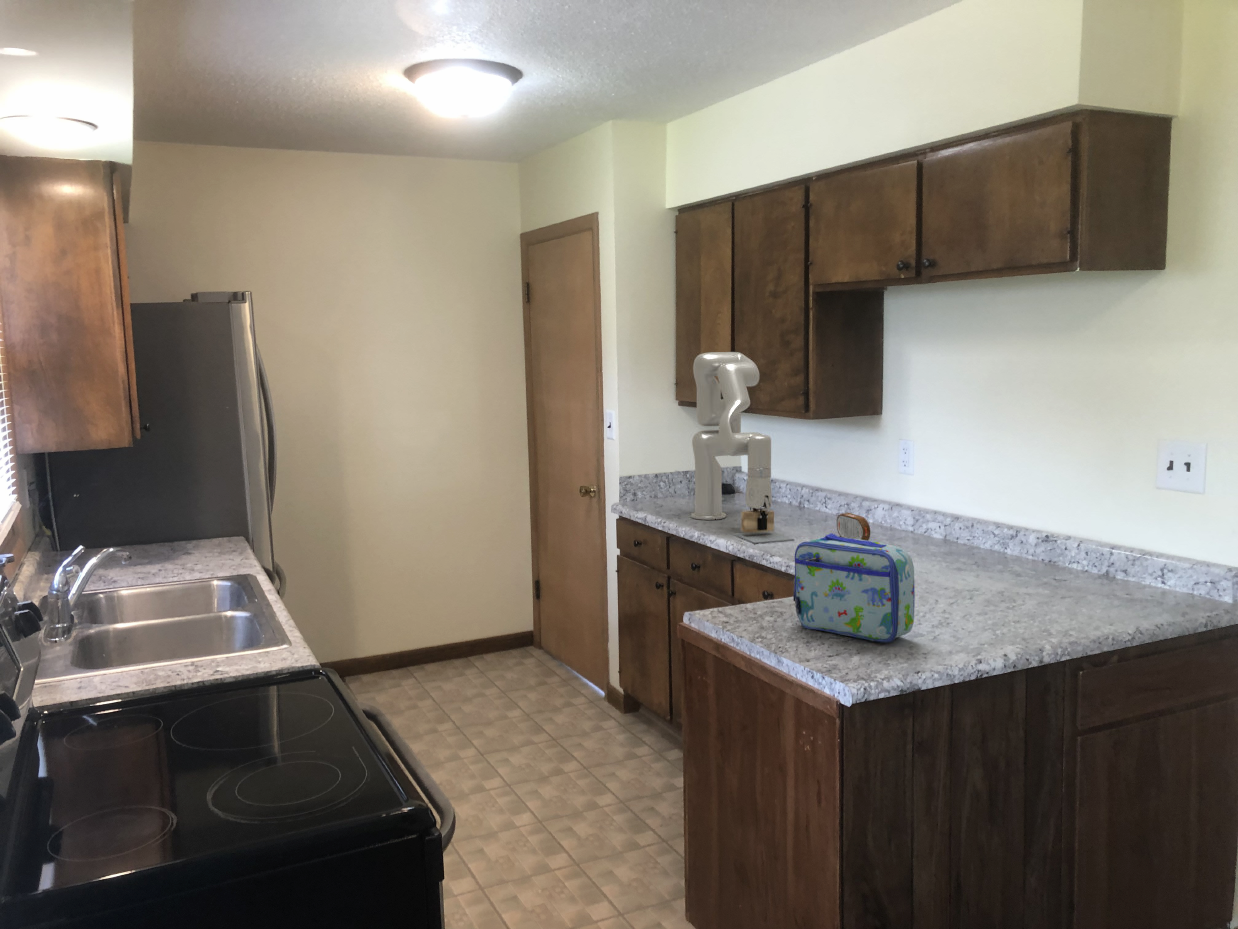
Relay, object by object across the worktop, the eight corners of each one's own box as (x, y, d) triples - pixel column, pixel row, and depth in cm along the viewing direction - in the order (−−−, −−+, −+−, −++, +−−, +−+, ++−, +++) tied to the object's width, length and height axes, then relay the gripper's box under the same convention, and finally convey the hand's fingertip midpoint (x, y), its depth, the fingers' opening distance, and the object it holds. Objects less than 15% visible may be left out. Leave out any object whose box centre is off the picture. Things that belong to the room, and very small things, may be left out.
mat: (733, 535, 315) (733, 533, 315) (771, 531, 319) (771, 530, 319) (754, 544, 301) (754, 542, 301) (794, 540, 305) (794, 538, 305)
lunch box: (786, 626, 214) (787, 534, 212) (814, 616, 222) (815, 527, 219) (891, 651, 196) (894, 551, 193) (917, 639, 203) (920, 543, 201)
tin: (871, 544, 298) (871, 518, 297) (862, 545, 297) (863, 518, 296) (842, 535, 312) (843, 510, 311) (834, 536, 311) (834, 511, 309)
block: (741, 531, 312) (741, 511, 312) (768, 529, 316) (768, 509, 315) (746, 532, 309) (746, 513, 308) (773, 531, 312) (774, 511, 311)
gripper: (737, 470, 317) (737, 525, 319) (760, 476, 301) (760, 534, 303) (757, 469, 319) (757, 523, 321) (782, 475, 304) (781, 532, 306)
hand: (759, 528), depth 312 cm, fingers closed on block, 3 cm apart
